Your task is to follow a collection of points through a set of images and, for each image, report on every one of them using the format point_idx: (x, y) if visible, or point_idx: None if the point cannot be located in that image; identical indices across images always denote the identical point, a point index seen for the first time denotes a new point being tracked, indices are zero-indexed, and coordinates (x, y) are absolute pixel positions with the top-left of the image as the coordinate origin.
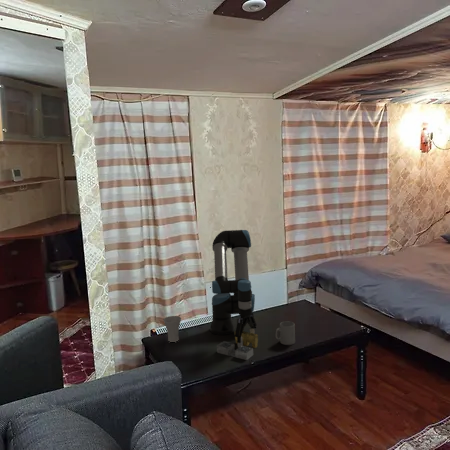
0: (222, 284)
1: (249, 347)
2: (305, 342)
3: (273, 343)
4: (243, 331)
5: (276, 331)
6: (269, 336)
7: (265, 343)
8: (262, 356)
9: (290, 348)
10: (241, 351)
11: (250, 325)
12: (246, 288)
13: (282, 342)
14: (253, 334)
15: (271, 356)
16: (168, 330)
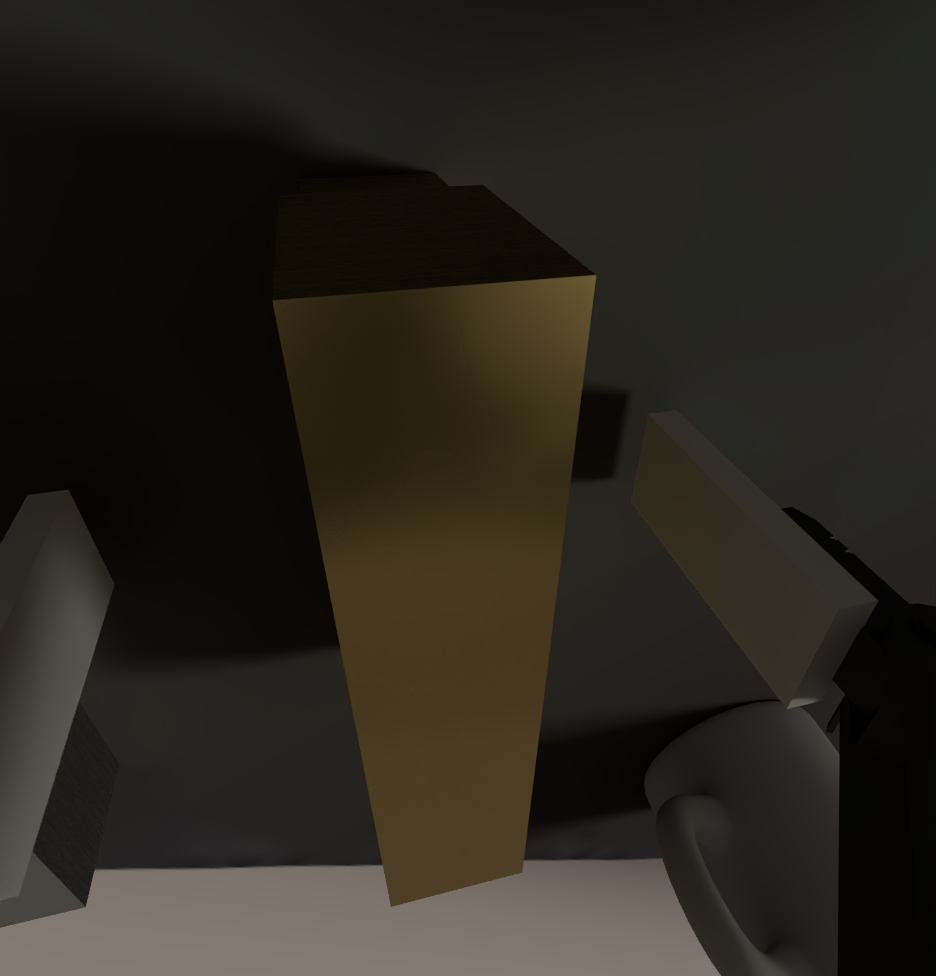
0: None
1: (37, 878)
2: None
3: (639, 699)
4: (540, 592)
5: (715, 964)
6: (868, 547)
7: (601, 644)
8: (193, 831)
9: (577, 836)
10: None
11: (874, 790)
12: None
13: (662, 781)
14: (469, 845)
15: (279, 864)
16: None
